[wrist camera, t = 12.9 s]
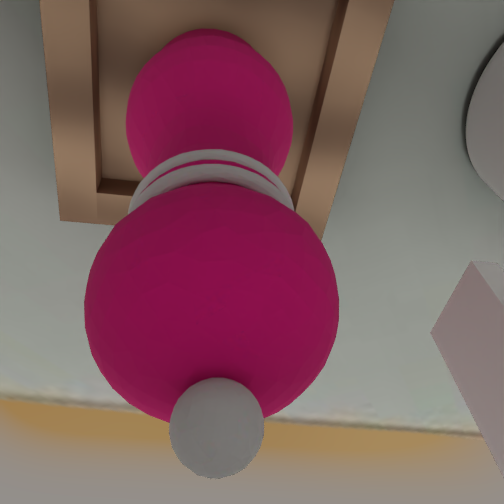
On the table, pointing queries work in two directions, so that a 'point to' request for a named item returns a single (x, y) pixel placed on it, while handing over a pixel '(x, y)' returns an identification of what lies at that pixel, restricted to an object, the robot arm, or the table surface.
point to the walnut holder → (154, 39)
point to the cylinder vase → (488, 124)
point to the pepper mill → (211, 257)
